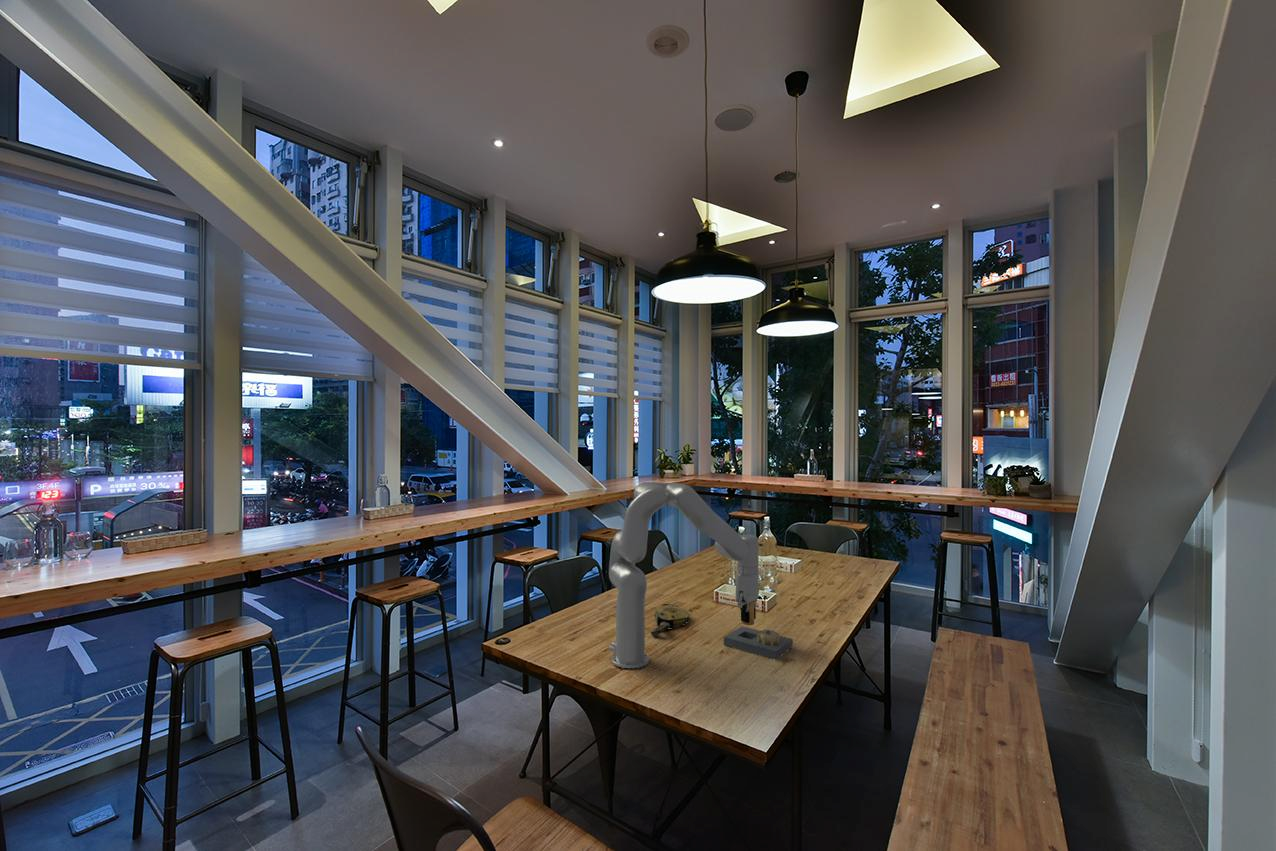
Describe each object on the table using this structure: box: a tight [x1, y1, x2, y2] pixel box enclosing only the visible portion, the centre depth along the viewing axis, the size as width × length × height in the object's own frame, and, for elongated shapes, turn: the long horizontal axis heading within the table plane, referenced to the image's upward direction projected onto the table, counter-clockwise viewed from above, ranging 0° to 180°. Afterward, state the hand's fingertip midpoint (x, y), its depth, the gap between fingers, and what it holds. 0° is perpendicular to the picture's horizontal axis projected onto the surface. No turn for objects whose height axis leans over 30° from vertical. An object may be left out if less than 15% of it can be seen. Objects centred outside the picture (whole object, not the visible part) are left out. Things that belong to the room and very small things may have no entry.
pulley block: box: [650, 603, 693, 636], centre depth 213 cm, size 14×6×30 cm
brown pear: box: [742, 600, 755, 626], centre depth 195 cm, size 4×4×8 cm
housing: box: [723, 626, 794, 661], centre depth 192 cm, size 20×14×6 cm
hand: (748, 619), depth 195 cm, fingers closed on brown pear, 4 cm apart
